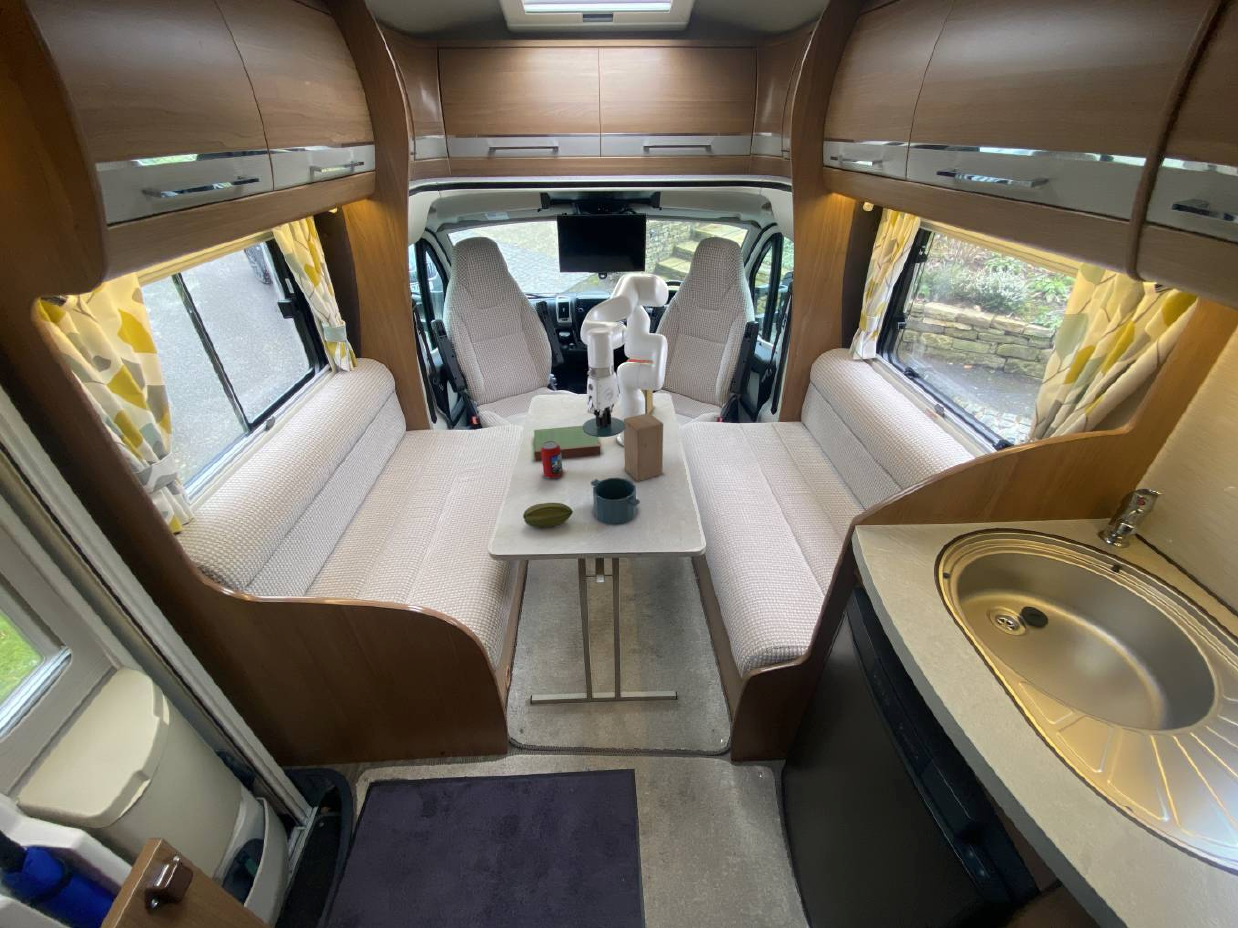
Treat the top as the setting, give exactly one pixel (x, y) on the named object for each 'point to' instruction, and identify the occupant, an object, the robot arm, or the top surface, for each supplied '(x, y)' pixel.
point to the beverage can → (551, 459)
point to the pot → (614, 500)
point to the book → (567, 442)
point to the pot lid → (608, 430)
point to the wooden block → (643, 446)
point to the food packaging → (647, 393)
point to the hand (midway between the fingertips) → (603, 424)
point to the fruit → (547, 514)
